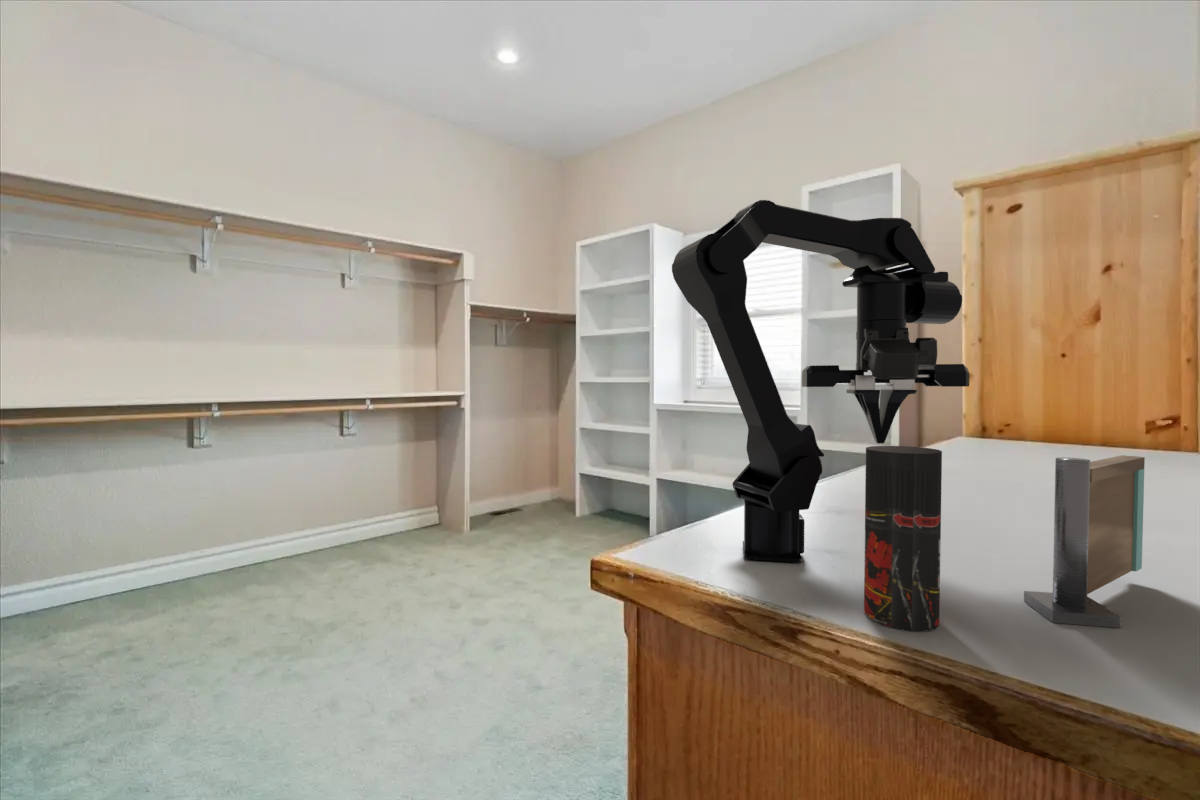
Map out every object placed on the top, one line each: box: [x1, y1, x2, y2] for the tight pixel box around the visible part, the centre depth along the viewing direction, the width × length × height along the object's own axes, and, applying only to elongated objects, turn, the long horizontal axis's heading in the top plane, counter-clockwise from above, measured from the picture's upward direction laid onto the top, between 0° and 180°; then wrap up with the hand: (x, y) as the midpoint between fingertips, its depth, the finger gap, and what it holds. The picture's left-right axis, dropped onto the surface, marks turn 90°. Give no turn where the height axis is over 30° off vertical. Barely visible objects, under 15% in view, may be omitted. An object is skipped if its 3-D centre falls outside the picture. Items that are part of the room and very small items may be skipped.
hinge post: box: [1023, 456, 1121, 629], centre depth 52 cm, size 5×5×14 cm
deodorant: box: [863, 445, 943, 633], centre depth 51 cm, size 6×6×15 cm
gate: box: [1087, 454, 1146, 595], centre depth 56 cm, size 2×14×12 cm, turn 123°
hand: (879, 443), depth 74 cm, fingers closed
